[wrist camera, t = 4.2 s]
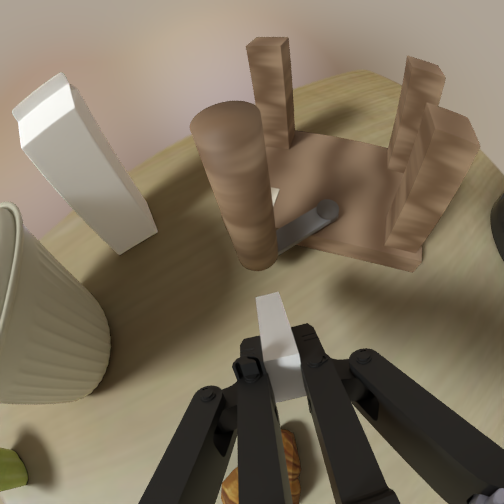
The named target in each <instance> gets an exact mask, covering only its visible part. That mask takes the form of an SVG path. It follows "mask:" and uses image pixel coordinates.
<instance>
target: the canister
mask: <svg viewBox="0 0 504 504" xmlns="http://www.w3.org/2000/svg"><path fill="white" fill-rule="evenodd" d="M109 331H110V329H109V326H108V321H107V319H106V317H105V314H104V311H103V309H102V308H101V307H100V304H99V303H98V301H97V300H96V299H95V298H94V297H93V295H92V294H91V293H90V292H89V291H88V290H87V289H86V288H85V287H84V286H83V285H82V284H81V283H80V282H79V281H78V280H77V279H76V278H75V277H74V276H73V275H72V274H71V273H70V272H69V271H67V270H66V269H65V268H64V267H63V266H62V265H61V264H60V263H59V262H58V261H57V260H56V259H55V258H54V257H53V256H52V255H51V254H50V253H49V252H48V251H47V249H46V248H45V247H44V246H43V245H42V244H41V243H40V242H39V241H38V240H37V239H36V238H35V237H34V235H32V233H31V232H30V231H29V230H28V229H27V228H26V227H25V226H24V225H23V220H22V216H21V213H20V211H19V208H18V207H17V206H16V205H15V204H14V203H12V202H2V203H0V403H4V404H56V403H66V402H73V401H77V400H79V399H82V398H84V397H86V396H87V395H88V394H90V393H92V392H93V390H94V389H95V388H96V387H97V386H98V384H99V382H100V381H102V379H103V375H104V374H105V373H106V368H107V366H108V364H109V363H108V361H109V357H110V348H111V345H110V340H111V337H110V333H109Z"/></svg>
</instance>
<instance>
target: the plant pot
mask: <svg viewBox="0 0 504 504" xmlns="http://www.w3.org/2000/svg"><path fill="white" fill-rule="evenodd" d="M27 481H28V476H27V472H26V469H25V466H24V464H23V462H22V461H21V460H20V459H19V457H18V455H17V453H16V452H14V451H13V450H9V449H4V448H0V492H1V491H5V490H9V489H13V488H17V487H21V486H24V485H26V483H27Z"/></svg>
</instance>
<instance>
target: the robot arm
mask: <svg viewBox="0 0 504 504" xmlns="http://www.w3.org/2000/svg"><path fill="white" fill-rule="evenodd" d="M491 227H492V232H493V236H494V240H495V243H496V245H497V248H498V250H499V252H500V255H501V257H502V259H503V260H504V193H503V194H502V195H501V196H500V197H499V199H498V200H497V202H496V203H495V204H494V206H493V208H492V211H491ZM255 298H256V305H257V313H258V321H259V329H260V336H255V337H251V338H246V339H244V340H243V341H242V343H241V345H240V358H238V359H236V361H235V362H234V363H233V366H232V368H233V370H234V373H235V376H236V378H237V382H236V383H235V384H233V385H232V386H230V387H228V388H225V389H223V390H221V389H220V388H219V387H217V386H206V387H203V388H201V389H200V390H198V391H197V392H196V393H195V395H194V396H193V398H192V400H191V402H190V404H189V406H188V408H187V410H186V412H185V414H184V416H183V418H182V420H181V422H180V424H179V426H178V428H177V430H176V432H175V434H174V436H173V438H172V440H171V442H170V444H169V446H168V448H167V449H166V451H165V453H164V455H163V457H162V459H161V461H160V463H159V465H158V467H157V469H156V471H155V473H154V475H153V477H152V479H151V480H150V482H149V484H148V486H147V488H146V490H145V492H144V494H143V496H142V498H141V500H140V501H139V503H138V504H215V502H216V499H217V496H218V493H219V490H220V487H221V484H222V481H223V478H224V475H225V472H226V469H227V466H228V463H229V460H230V456H231V453H232V450H233V447H234V444H235V441H236V437H237V434H238V498H239V504H293V501H292V495H291V489H290V483H289V477H288V471H287V465H286V459H285V453H284V446H283V440H282V434H281V428H280V422H279V416H278V410H277V407H276V403H277V402H282V401H286V400H291V399H295V398H299V397H303V396H307V399H308V405H309V410H310V413H311V415H312V418H313V422H314V426H315V429H316V433H317V436H318V440H319V444H320V447H321V451H322V454H323V458H324V462H325V465H326V469H327V473H328V477H329V480H330V484H331V488H332V492H333V495H334V499H335V503H336V504H400V502H399V500H398V497H397V495H396V493H395V492H394V491H393V490H392V489H390V488H389V487H388V486H387V484H386V482H385V480H384V477H383V475H382V472H381V470H380V468H379V465H378V463H377V460H376V458H375V456H374V453H373V451H372V449H371V446H370V444H369V442H368V440H367V437H366V435H365V433H364V430H363V428H362V426H361V424H360V421H359V419H358V417H357V415H356V412H355V410H354V408H353V406H352V404H353V405H354V406H355V407H356V408H357V409H358V411H359V412H360V413H361V414H362V415H363V416H364V417H365V418H366V419H367V420H368V421H369V423H370V424H371V425H372V426H373V427H374V428H375V429H376V430H377V431H378V432H379V433H380V434H381V436H382V437H383V438H384V439H385V440H386V441H387V442H388V443H389V444H390V445H391V446H392V447H393V448H394V449H395V450H396V451H397V452H398V454H399V455H400V456H401V457H402V458H403V459H404V460H405V461H406V462H407V463H408V464H409V465H410V466H411V467H412V468H413V469H414V470H415V471H416V472H417V473H418V474H419V475H420V476H421V477H422V478H423V479H424V480H425V481H426V482H427V483H428V484H429V485H430V486H431V488H432V489H433V490H434V491H435V492H436V493H437V494H438V495H440V496H441V497H442V498H443V499H444V500H445V501H446V502H447V503H448V504H504V449H502V448H501V447H500V446H499V445H497V444H496V443H495V442H493V441H492V440H491V439H489V438H488V437H487V436H485V435H484V434H483V433H481V432H480V431H479V430H478V429H476V428H475V427H474V426H472V425H471V424H470V423H468V422H467V421H466V420H464V419H463V418H462V417H461V416H459V415H458V414H457V413H455V412H454V411H453V410H451V409H450V408H449V407H448V406H446V405H445V404H444V403H442V402H441V401H440V400H438V399H437V398H436V397H435V396H433V395H432V394H431V393H429V392H428V391H427V390H425V389H424V388H423V387H421V386H420V385H419V384H418V383H416V382H415V381H414V380H412V379H411V378H410V377H409V376H407V375H406V374H405V373H403V372H402V371H401V370H399V369H398V368H397V367H396V366H394V365H393V364H392V363H390V362H389V361H388V360H386V359H385V358H384V357H383V356H381V355H380V354H379V353H377V352H376V351H374V350H372V349H367V348H366V349H359V350H357V351H355V352H353V353H352V354H351V355H350V357H349V359H344V360H336V359H332V358H330V357H329V356H328V355H327V354H326V353H325V351H324V349H323V347H322V345H321V343H320V341H319V338H318V336H317V334H316V332H315V330H314V328H313V327H312V326H311V325H309V324H308V323H306V324H302V325H299V326H295V327H290V324H289V321H288V318H287V315H286V312H285V309H284V306H283V303H282V300H281V297H280V294H279V292H275V293H271V294H267V295H263V296H259V297H255ZM275 402H276V403H275ZM351 402H352V403H351Z"/></svg>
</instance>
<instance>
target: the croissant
mask: <svg viewBox="0 0 504 504" xmlns="http://www.w3.org/2000/svg"><path fill="white" fill-rule="evenodd" d="M281 434H282V440H283V446H284V453H285V459H286V465H287V471H288V477H289V483H290V489H291V495H292V501H293V504H299V497H300V491H301V487H300V483H299V480H298V477H299V474H300V471H301V466H300V461H299V456H298V451H297V446H296V442H295V437H294V434H293V433H292V432H290V431H288V430H286V429H281ZM221 499H222V502H223V504H239V498H238V467H237V468H235V469H234V470H233V471H232V472H231V474H230V475H229V476H228V477H227V478H226V479H225V480H224V482H223V483H222V492H221Z"/></svg>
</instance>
